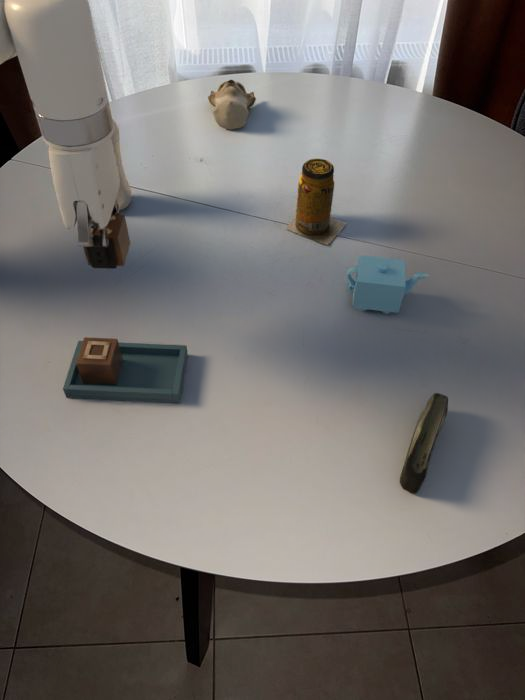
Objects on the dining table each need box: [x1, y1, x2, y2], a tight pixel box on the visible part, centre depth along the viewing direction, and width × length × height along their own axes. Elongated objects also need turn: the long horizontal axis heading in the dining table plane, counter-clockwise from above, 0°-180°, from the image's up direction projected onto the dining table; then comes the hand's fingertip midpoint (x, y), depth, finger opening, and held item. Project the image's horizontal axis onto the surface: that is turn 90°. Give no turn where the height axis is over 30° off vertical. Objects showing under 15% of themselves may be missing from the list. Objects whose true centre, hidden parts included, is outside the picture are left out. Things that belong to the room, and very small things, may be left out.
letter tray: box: [62, 340, 189, 404], centre depth 81 cm, size 16×9×2 cm, turn 88°
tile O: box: [76, 336, 123, 385], centre depth 80 cm, size 5×5×5 cm
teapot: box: [346, 254, 429, 315], centre depth 89 cm, size 12×6×8 cm, turn 81°
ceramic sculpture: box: [207, 79, 257, 131], centre depth 125 cm, size 11×9×15 cm
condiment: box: [285, 158, 347, 246], centre depth 99 cm, size 7×8×12 cm
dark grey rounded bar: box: [399, 392, 449, 495], centre depth 74 cm, size 5×3×15 cm
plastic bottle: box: [111, 118, 132, 211], centre depth 99 cm, size 6×7×20 cm
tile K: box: [82, 213, 131, 267], centre depth 73 cm, size 5×5×5 cm
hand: (108, 251), depth 75 cm, fingers closed on tile K, 4 cm apart
